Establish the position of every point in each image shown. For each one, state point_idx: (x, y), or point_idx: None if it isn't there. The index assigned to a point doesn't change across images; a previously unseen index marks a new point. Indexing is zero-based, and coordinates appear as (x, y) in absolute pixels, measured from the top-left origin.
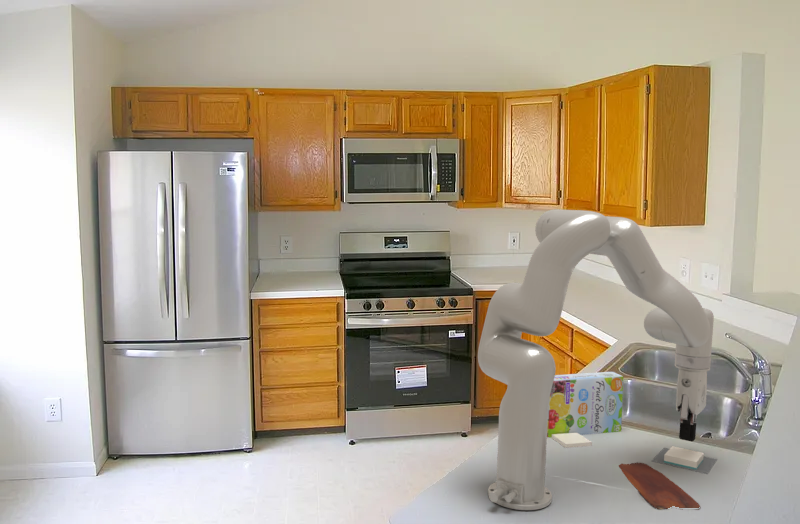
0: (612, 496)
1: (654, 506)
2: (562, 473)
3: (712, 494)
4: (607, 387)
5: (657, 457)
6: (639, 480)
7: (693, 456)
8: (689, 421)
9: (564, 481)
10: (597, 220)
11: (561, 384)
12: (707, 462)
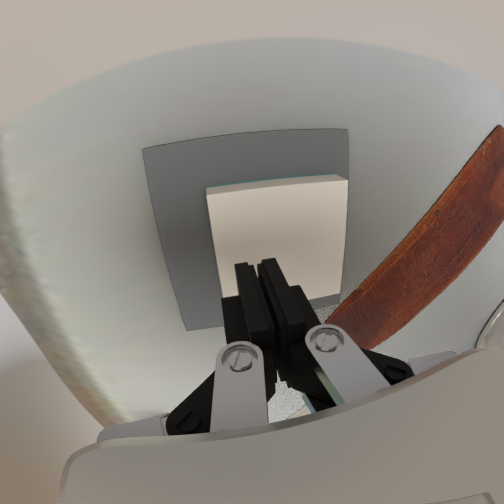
0: (495, 260)
1: None
2: (443, 347)
3: (450, 101)
4: None
5: None
6: (467, 258)
7: (290, 212)
8: (373, 352)
9: (465, 328)
10: None
11: None
12: (216, 164)
